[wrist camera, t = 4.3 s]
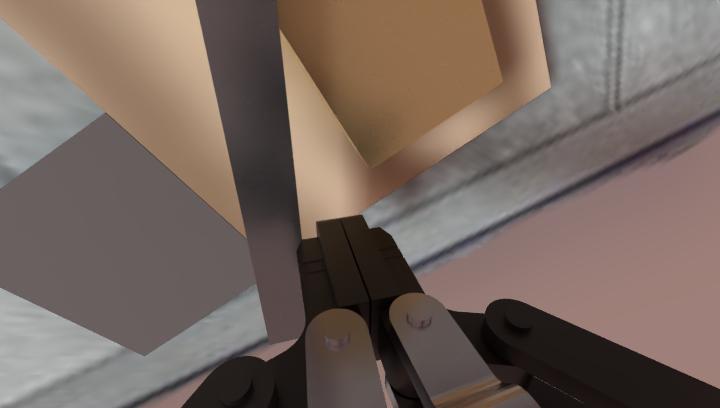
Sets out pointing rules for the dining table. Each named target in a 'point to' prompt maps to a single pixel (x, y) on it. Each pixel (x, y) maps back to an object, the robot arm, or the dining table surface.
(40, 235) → the mat
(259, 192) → the clamp lever
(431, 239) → the dining table surface
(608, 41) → the dining table surface
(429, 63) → the brown rectangular block
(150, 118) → the base plate
